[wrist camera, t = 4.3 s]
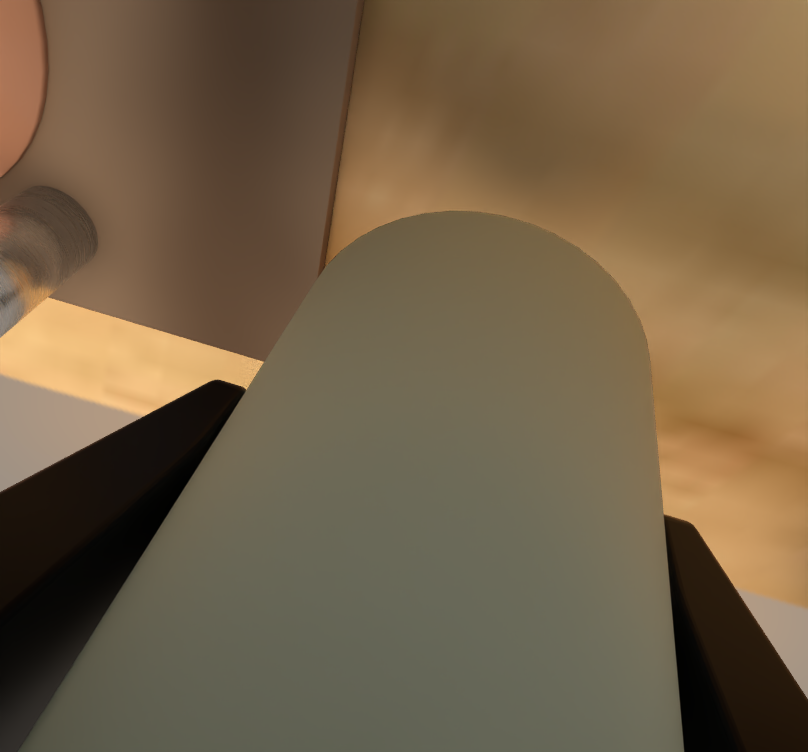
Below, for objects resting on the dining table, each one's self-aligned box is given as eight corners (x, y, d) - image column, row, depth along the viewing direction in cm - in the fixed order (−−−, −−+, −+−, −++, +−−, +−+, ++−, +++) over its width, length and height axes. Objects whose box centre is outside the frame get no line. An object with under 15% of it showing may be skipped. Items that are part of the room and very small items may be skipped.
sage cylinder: (733, 382, 10) (979, 1431, 3) (481, 542, 12) (359, 1262, 6) (443, 126, 8) (-26, 1003, 2) (239, 368, 11) (-211, 1041, 5)
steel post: (395, -166, 13) (309, -162, 9) (76, 281, 21) (-44, 386, 17) (293, -284, 13) (153, -335, 9) (2, 224, 20) (-140, 318, 16)
